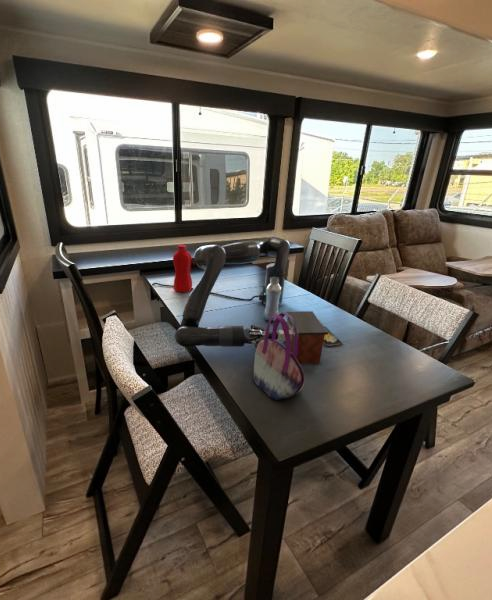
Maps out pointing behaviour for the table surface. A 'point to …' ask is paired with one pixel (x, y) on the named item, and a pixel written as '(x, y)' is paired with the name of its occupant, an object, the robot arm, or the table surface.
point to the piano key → (282, 336)
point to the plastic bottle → (272, 298)
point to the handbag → (278, 363)
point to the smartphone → (331, 339)
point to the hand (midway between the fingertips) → (277, 335)
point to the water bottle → (182, 269)
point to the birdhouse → (307, 336)
